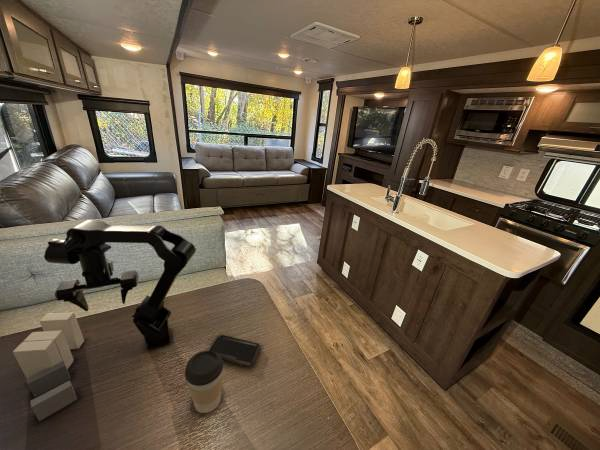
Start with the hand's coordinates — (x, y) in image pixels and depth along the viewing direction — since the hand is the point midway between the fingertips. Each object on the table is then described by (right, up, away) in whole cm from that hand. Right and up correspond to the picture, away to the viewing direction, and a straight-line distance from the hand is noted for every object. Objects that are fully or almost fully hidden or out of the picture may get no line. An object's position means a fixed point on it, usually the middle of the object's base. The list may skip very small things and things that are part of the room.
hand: (106, 306), depth 76 cm
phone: (+39, -16, +4) cm, 42 cm away
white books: (-10, -16, -7) cm, 20 cm away
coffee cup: (+35, -22, -10) cm, 43 cm away
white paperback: (-13, -13, +1) cm, 18 cm away
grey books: (-4, -19, -12) cm, 23 cm away
